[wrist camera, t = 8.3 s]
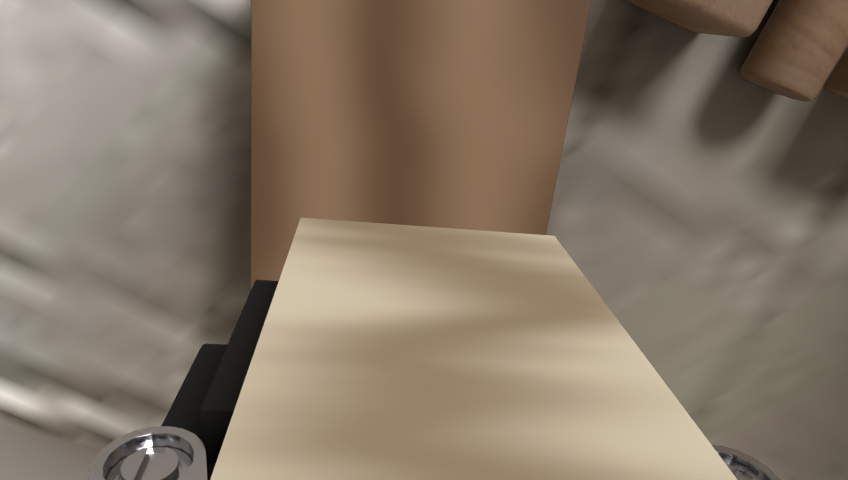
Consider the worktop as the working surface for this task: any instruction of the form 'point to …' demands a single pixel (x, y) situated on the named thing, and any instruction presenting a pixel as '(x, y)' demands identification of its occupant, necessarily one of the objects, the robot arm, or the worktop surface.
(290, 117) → the walnut block
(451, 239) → the maple block
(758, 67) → the wooden block set
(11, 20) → the worktop surface
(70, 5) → the worktop surface
